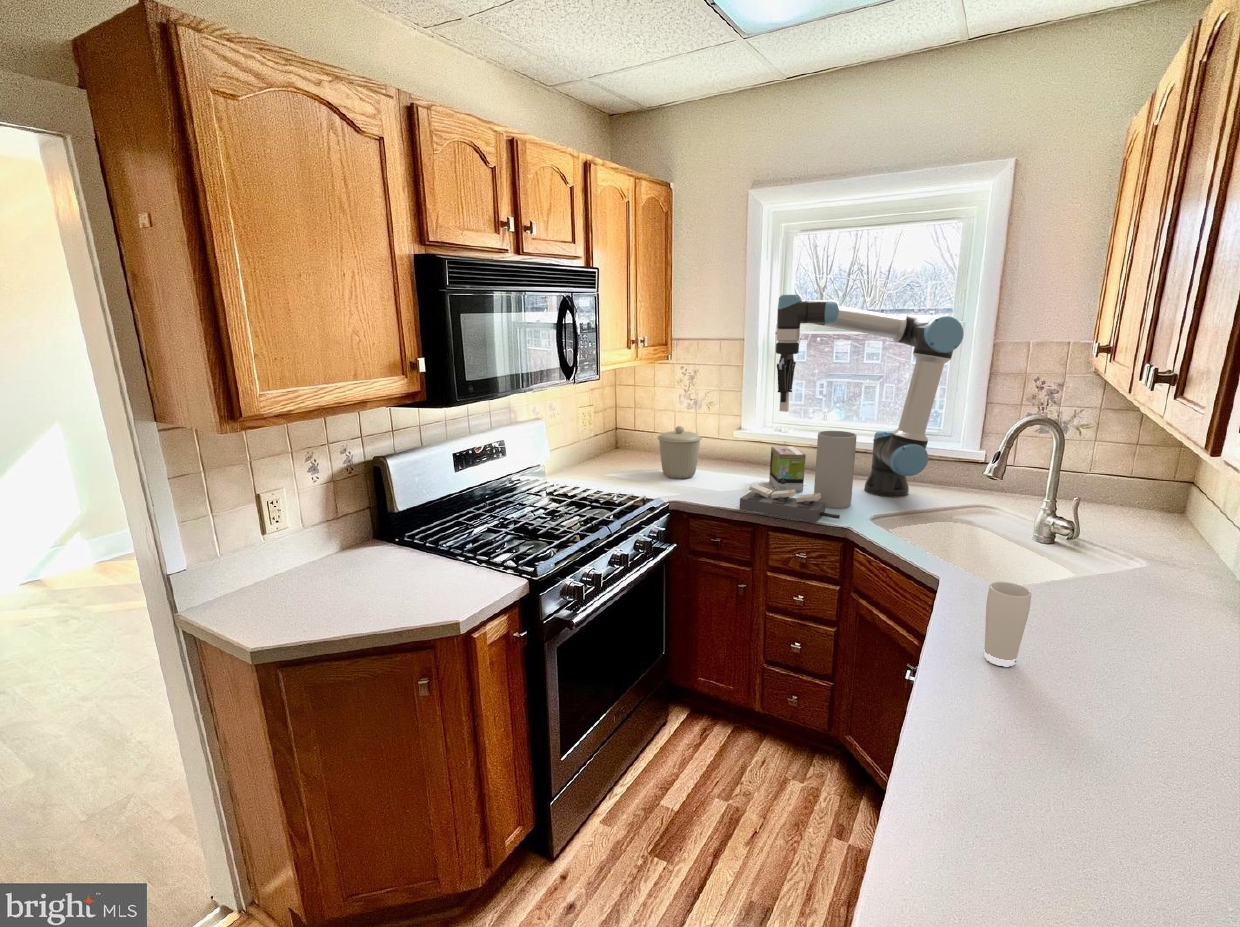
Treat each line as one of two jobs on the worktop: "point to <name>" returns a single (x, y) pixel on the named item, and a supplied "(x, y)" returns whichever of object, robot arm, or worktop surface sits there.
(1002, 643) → the drinking glass
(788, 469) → the tea box
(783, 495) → the rocker
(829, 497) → the cylinder vase
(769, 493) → the rocker
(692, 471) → the canister
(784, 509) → the power strip
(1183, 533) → the worktop surface
